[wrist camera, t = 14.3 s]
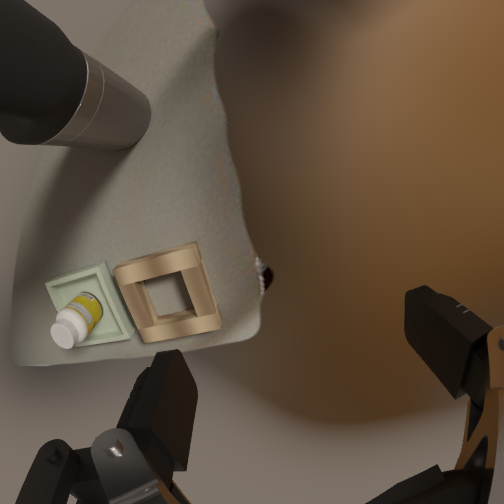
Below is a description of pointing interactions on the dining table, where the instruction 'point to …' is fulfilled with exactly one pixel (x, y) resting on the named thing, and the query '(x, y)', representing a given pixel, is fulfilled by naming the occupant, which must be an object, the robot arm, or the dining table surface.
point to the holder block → (196, 282)
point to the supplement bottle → (77, 319)
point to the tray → (100, 283)
